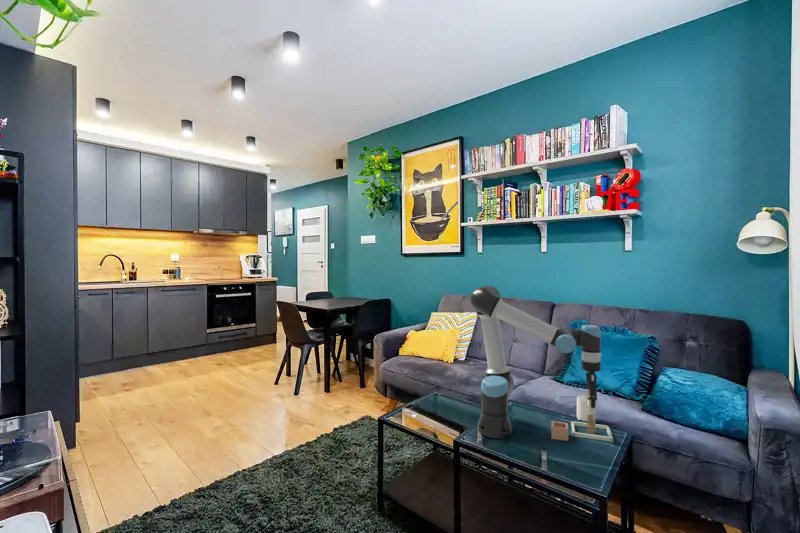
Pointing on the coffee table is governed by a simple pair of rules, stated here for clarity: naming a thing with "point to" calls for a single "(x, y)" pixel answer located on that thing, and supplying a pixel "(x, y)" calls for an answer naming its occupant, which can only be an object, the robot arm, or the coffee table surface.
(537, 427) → the coffee table surface
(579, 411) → the cup
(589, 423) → the pin
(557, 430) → the holder
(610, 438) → the tray
